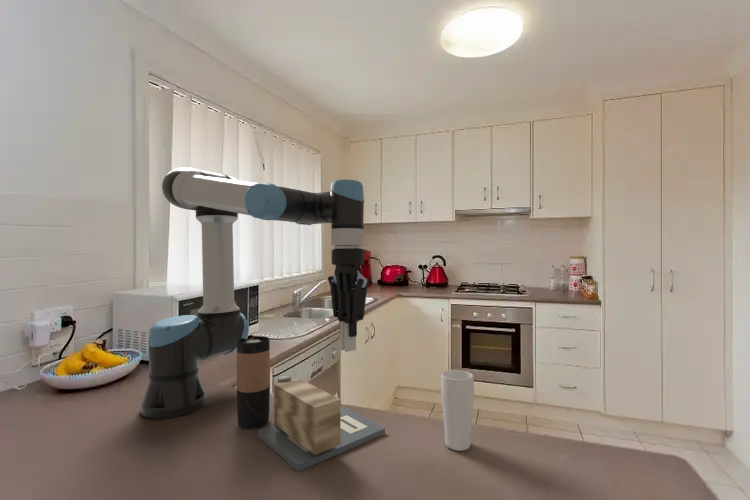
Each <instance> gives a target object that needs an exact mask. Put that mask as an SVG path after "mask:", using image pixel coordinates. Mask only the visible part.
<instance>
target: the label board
mask: <svg viewBox="0 0 750 500" xmlns="http://www.w3.org/2000/svg"><path fill="white" fill-rule="evenodd" d="M340 429H341V444H340V445H338V446H335V447H333V448H331V449H328V450H326V451H323V452H321V453H319V454H316V455H314V454H313V453H311V452H310V451H309V450H308V449H306V448H305V447H304V446H302V445H301V444H300V443H298V442H297V441H296V440H294V439H293V438H292V437H290V436H289V435H288V434H286V433H285V432H284V431H283V430H281V429H280V428H279V427H277V426H276V425H275V424H273V425H271V426H269V427H268V426H267V427H265V428H261V429H259V430H258V429H257V437H258V438H259V439H261V440H262V442H264V443H265V444H266V445H268V446H269V447H270V448H271V449H272V450H273V451H274V452H275V453H277V455H279V457H281V458H282V459H283V460H285V462H287V463H288V464H289V465H290V466H291V467H292V468H294V469H295V471H297V472H300V471H303V470H305V469H308V468H310V467H312V466H314V465H316V464H319V463H321V462H323V461H326V460H328V459H331V458H332V457H335V456H337V455H339V454H342V453H344V452H346V451H348V450H351V449H354V448H355V447H358V446H360V445H362V444H364V443H366V442H368V441H372V440H374V439H376V438H378V437H381V436H383V435H385V434H386V428H385V427H383V426H382V425H380V424H377V423H375V422H373V421H372V420H370V419H368V418H366V417H364V416H362V415H360V414H358V413H356V412H355V411H352V410H351V409H349V408H348V407H345V406H342V405H341V404H340Z"/></svg>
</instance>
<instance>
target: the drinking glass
mask: <svg viewBox="0 0 750 500" xmlns="http://www.w3.org/2000/svg"><path fill="white" fill-rule="evenodd" d="M440 381H441V382H440V391H441V392H440V393H441V406H442V416H443V417H442V418H443V430H444V443H445V446H446V447H447V448H448V449H450V450H452V451H457V452H464V451H467V450H468V449H470V448H471V444H472V442H471V440H472V439H471V438H472V437H471V436H472V424H473V423H472V421H473V411H474V398H475V385H474V384H475V383H474V381H475V380H474V374H473V373H471V372H470V371H466V370H462V369H448V370H445V371H443V372H441V378H440Z"/></svg>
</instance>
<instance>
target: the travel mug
mask: <svg viewBox="0 0 750 500" xmlns="http://www.w3.org/2000/svg"><path fill="white" fill-rule="evenodd" d="M270 360H271V359H270V338H269V337H267V336H263V335H261V336H260V335H256V336H254V337H252V338H249V339H248V338H247V339H245V338H241V339H239V340H237V351H236V405H237V407H236V409H237V410H236V411H237V413H236V414H237V426H238V427H239V428H240V429H241V430H258V429H260V428H263V427H265V426H266V425H268V423H269V421H270V403H271V401H270V400H271V397H270V396H271V366H270V364H271V363H270Z"/></svg>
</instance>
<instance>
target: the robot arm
mask: <svg viewBox="0 0 750 500" xmlns="http://www.w3.org/2000/svg"><path fill="white" fill-rule="evenodd" d="M330 184H331V186H330V190H329V191H324V192H311V191H306V190H301V189H295V188H289V187H284V186H281V185H276V184H273V183H270V182H269V183H267V182H251V181H244V180H238V179H237V178H235V176H234V177H233V176H230V175H227V174H225V173H218V172H213V171H208V170H207V171H206V170H203V169H197V168H193V167H178V168H174V169H173V170H170V171H169V172H167V173H166V175H165V176H164V178H163V179H162V184H161V190H162V193H163V196H164V198H165V199H166V201H167V202H169V203H170V204H171V205H173V206H175V207H177V208H180V209H183V210H190V211H195V219H196V220H197V221H199V223H200V224H201V254H202V255H201V256H202V298H203V299H202V306H201V307H200V308H199V309H198V310H197V315H193V314H182V315H179V316H177V315H175V316H171V317H167V318H163V319H161V320H159V321H156V322H155V323H153V325H151V326H150V328H149V334H148V340H147V344H148V383H147V387H146V389H145V392H144V395H143V398H142V400H141V403H140V413H141V415H142V417H144V418H147V419H153V420H155V419H158V420H159V419H161V420H162V419H171V418H176V417H181V416H184V415H187V414H190V413H193V412H195V411H197V410H200V409H201V408H202V407H203V406H205V404H206V402H207V401H206V400H207V399H206V398H207V397H206V396H207V395H206V390H205V388H204V386H203V382H202V380H201V376H200V374H199V362H201V361H205V360H208V359H212V358H213V359H214V358H216V357H220V356H224V355H226V356H227V355H229V354H231V353H233V352H237V340H239V339H241V338H245V339H248V337H249V331H250V329H249V328H250V327H249V322H248V320H247V317H246V315H245V314H243V313H242V312H241V309H240V307H239V306H238V305H237V304H236V303H235V275H234V274H235V272H234V270H235V269H234V234H233V233H234V232H233V230H234V229H233V225H234V223H235V222H236V221H237V220H238V219H239V218H238V217H239V215H238V214H240V215H246V216H251V217H253V218H255V219H259V220H263V221H275V222H276V221H277V222H278V221H280V222H290V223H295V224H297V225H303V226H311V225H317V224H318V225H320V224H331V229H330V231H331V232H330V233H331V234H330V244H331V247H333V248H332V250H331V252H330V253H331V264H332V265H333V266H335V269H334V274H332V275H331V276H330V275H329V276H328V278H327V280H328V283H329V286H330V287H329V288H330V297H331V304H332V313H333V314H332V315H333V317H334V318H337V320H338V322H339V336H340V338H339V340H340V346H339V347H340V348H339V349H340V351H344V352H346V353H347V352H352V351H356V350H357V336H358V322H360V321H363V320H364V318H365V317H364V316H365V307H366V300H367V292H368V287H369V285H370V283H371V282H370V281H371V280H370V278H369V277H366V278H365V276H364V275H363V273H362V272H363V271H362V268H361V266H362V265H364V263H365V250H364V249H363V248H362V247H364V245H365V240H364V239H365V238H364V234H365V232H364V229H365V228H364V211H365V209H364V207H365V197H364V186H363V183H362V182H361V181H359V180H355V179H337V180H333V181H332V183H330Z"/></svg>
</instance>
